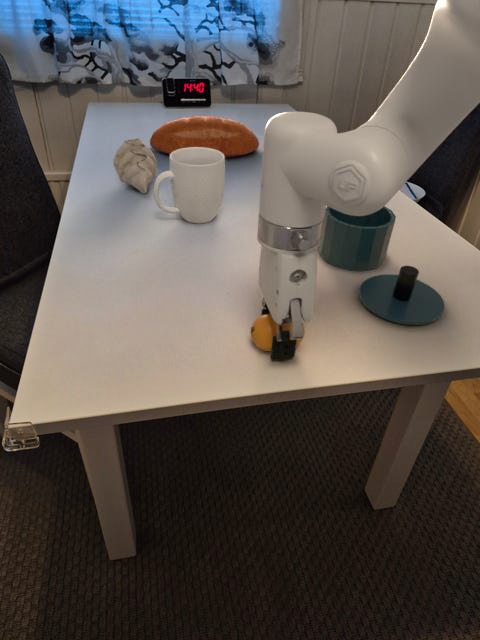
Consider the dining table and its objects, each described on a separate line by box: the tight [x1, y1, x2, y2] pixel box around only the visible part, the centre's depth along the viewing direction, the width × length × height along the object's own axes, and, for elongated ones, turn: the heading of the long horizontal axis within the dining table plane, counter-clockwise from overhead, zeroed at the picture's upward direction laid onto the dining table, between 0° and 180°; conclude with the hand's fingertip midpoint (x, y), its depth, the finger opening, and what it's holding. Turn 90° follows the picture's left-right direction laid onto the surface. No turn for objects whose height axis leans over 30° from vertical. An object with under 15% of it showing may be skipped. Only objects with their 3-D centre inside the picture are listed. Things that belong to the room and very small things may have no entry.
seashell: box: [112, 138, 158, 195], centre depth 105 cm, size 10×15×10 cm
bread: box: [149, 115, 260, 158], centre depth 128 cm, size 23×32×9 cm
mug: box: [152, 147, 226, 224], centre depth 91 cm, size 15×11×13 cm
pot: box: [318, 205, 397, 272], centre depth 83 cm, size 12×12×8 cm
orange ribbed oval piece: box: [250, 314, 306, 352], centre depth 62 cm, size 8×5×5 cm
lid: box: [358, 265, 445, 326], centre depth 71 cm, size 13×13×6 cm
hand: (276, 342), depth 63 cm, fingers closed on orange ribbed oval piece, 5 cm apart
